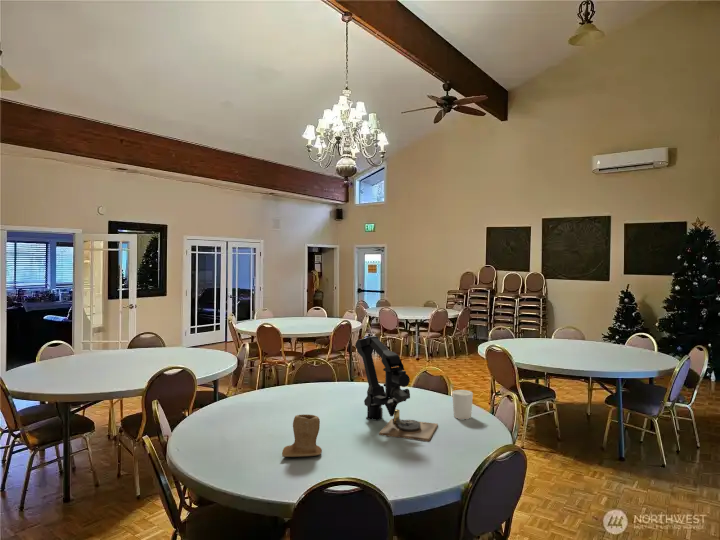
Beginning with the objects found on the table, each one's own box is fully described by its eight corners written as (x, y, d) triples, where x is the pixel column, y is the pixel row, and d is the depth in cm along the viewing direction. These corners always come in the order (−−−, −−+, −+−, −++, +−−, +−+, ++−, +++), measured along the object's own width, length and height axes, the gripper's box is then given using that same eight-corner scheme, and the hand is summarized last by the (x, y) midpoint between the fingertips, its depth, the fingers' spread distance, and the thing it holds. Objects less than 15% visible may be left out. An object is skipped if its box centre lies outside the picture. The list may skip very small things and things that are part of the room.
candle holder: (449, 418, 223) (449, 393, 223) (455, 412, 232) (455, 388, 232) (469, 421, 218) (469, 396, 218) (475, 415, 227) (475, 391, 227)
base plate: (379, 434, 201) (379, 431, 201) (391, 420, 220) (391, 417, 220) (429, 441, 193) (429, 438, 193) (437, 425, 212) (437, 423, 212)
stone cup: (321, 447, 187) (321, 410, 187) (322, 459, 175) (322, 419, 175) (283, 449, 185) (283, 411, 185) (281, 461, 173) (281, 421, 173)
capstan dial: (425, 428, 206) (425, 414, 206) (409, 433, 199) (409, 419, 199) (402, 420, 217) (402, 407, 217) (386, 424, 211) (386, 411, 211)
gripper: (388, 389, 198) (388, 425, 198) (418, 382, 210) (418, 416, 210) (371, 384, 207) (371, 418, 207) (401, 377, 219) (401, 410, 219)
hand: (391, 416), depth 211 cm, fingers closed
